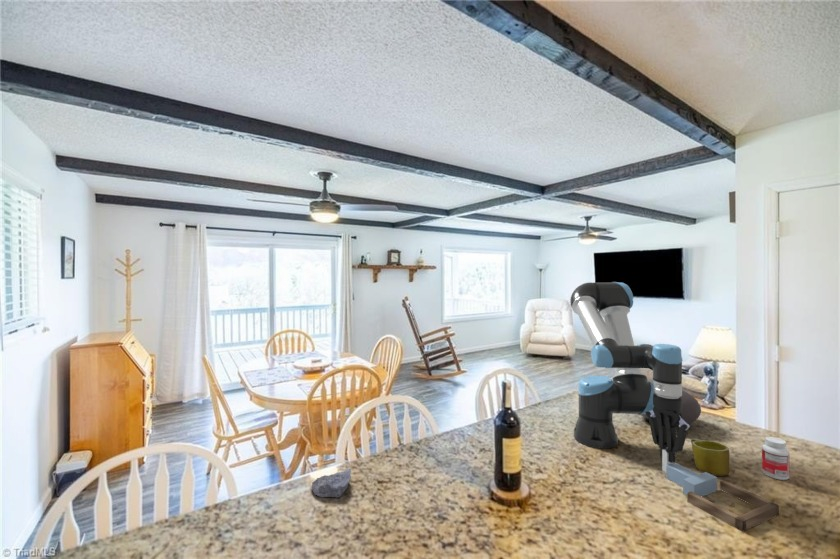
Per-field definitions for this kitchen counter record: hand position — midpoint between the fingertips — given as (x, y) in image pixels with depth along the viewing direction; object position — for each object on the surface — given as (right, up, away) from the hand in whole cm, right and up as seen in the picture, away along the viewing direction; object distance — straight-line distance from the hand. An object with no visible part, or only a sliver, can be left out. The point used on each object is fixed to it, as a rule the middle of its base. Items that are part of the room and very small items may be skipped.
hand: (667, 470), depth 114 cm
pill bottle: (+33, -2, 0) cm, 33 cm away
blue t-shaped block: (+2, -2, -5) cm, 6 cm away
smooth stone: (+26, -1, +41) cm, 49 cm away
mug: (+16, -2, +5) cm, 17 cm away
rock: (-103, -4, -6) cm, 104 cm away
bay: (+6, -2, -15) cm, 17 cm away
